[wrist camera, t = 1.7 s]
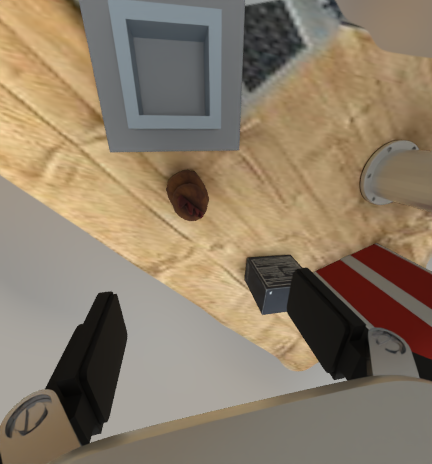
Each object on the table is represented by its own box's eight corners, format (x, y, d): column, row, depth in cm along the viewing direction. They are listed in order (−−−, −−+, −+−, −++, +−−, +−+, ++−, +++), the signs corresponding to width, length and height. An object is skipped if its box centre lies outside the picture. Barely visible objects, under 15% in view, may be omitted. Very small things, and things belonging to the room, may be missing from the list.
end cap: (242, 4, 27) (257, -25, 22) (237, 149, 35) (247, 151, 30) (78, -13, 24) (54, -52, 19) (111, 151, 32) (100, 154, 27)
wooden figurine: (161, 178, 35) (152, 203, 21) (191, 161, 34) (202, 176, 21) (181, 211, 38) (186, 252, 24) (209, 196, 37) (229, 228, 24)
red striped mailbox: (380, 288, 57) (532, 399, 33) (322, 315, 57) (430, 445, 33) (378, 241, 49) (573, 339, 25) (311, 272, 50) (441, 399, 25)
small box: (243, 281, 47) (260, 317, 38) (246, 256, 44) (265, 288, 35) (286, 277, 49) (312, 310, 40) (291, 253, 46) (321, 283, 37)
